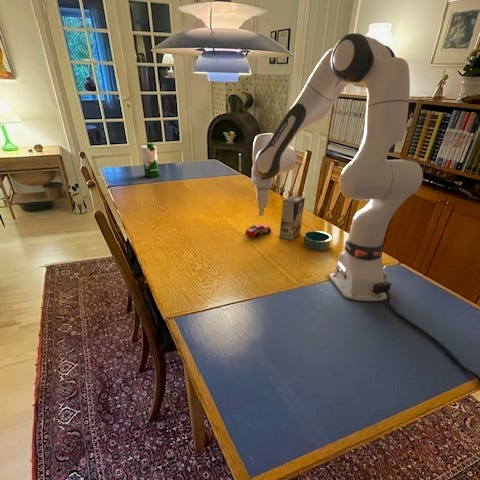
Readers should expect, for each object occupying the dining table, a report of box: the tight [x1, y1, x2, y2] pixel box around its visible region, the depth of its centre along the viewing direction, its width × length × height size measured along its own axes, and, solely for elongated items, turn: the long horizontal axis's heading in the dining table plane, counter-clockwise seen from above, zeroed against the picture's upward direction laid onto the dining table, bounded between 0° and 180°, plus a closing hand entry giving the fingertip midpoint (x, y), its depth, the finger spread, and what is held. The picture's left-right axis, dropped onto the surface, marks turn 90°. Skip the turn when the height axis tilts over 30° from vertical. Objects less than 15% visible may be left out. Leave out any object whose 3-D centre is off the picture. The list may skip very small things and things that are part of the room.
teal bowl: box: [302, 230, 332, 252], centre depth 143 cm, size 11×11×4 cm
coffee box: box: [279, 195, 306, 241], centre depth 148 cm, size 9×6×16 cm
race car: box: [245, 223, 272, 238], centre depth 153 cm, size 13×5×4 cm, turn 130°
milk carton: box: [140, 142, 160, 178], centre depth 227 cm, size 9×9×20 cm
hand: (260, 211), depth 147 cm, fingers open, 8 cm apart
